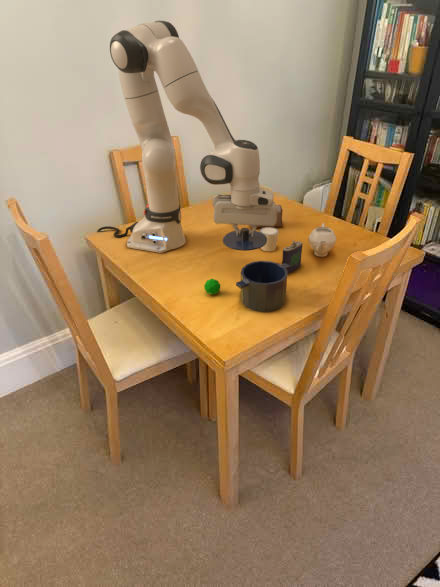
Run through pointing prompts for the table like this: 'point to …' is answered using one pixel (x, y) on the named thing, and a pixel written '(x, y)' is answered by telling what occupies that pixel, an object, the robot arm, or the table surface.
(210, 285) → the polyhedron
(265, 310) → the pot
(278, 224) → the food item
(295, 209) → the table surface
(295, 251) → the flask
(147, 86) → the robot arm
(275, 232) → the tan cup
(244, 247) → the pot lid
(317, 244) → the teapot
